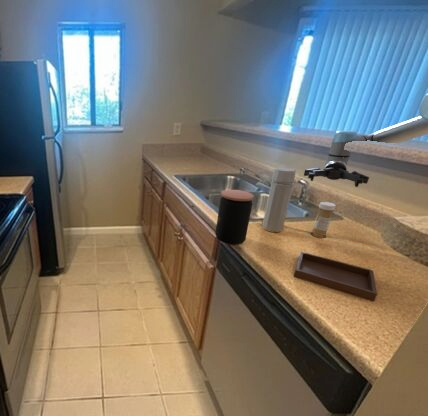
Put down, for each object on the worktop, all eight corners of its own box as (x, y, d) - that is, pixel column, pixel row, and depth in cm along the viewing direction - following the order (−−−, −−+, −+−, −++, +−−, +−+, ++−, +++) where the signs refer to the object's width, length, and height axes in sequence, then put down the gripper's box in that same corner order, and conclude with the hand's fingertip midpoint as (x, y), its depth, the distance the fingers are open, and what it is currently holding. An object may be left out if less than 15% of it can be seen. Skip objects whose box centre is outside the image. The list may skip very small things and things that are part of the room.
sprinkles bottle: (312, 232, 109) (321, 200, 104) (326, 236, 106) (337, 203, 101) (309, 236, 106) (319, 203, 101) (324, 239, 103) (334, 206, 98)
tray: (370, 277, 81) (373, 270, 80) (374, 301, 71) (377, 294, 70) (299, 257, 91) (300, 251, 91) (293, 276, 82) (295, 269, 81)
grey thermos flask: (262, 223, 117) (274, 166, 108) (284, 228, 112) (298, 168, 103) (258, 231, 110) (271, 170, 101) (281, 236, 106) (297, 173, 97)
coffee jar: (224, 230, 112) (231, 187, 105) (250, 239, 104) (259, 194, 97) (209, 237, 106) (215, 193, 100) (235, 248, 98) (244, 200, 91)
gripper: (370, 182, 114) (375, 195, 99) (299, 174, 129) (293, 184, 114) (376, 165, 112) (382, 175, 96) (303, 158, 126) (297, 166, 111)
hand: (334, 180), depth 105 cm, fingers open, 13 cm apart
